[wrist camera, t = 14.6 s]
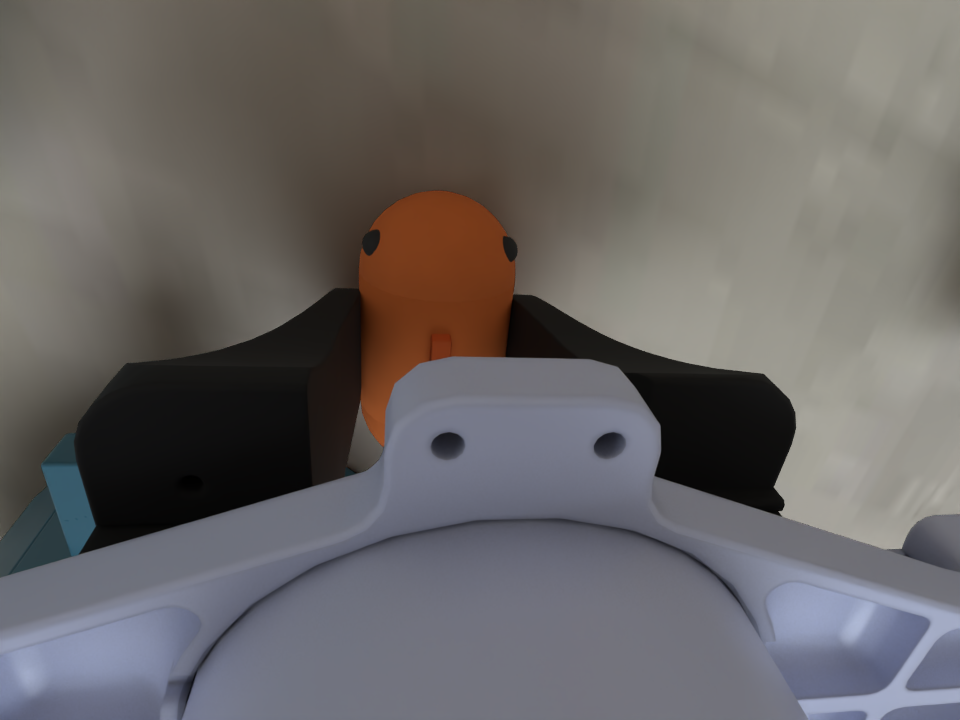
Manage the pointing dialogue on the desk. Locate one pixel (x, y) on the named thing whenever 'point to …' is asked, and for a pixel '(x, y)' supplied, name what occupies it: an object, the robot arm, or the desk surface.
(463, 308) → the fish
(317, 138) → the desk surface
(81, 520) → the pan
